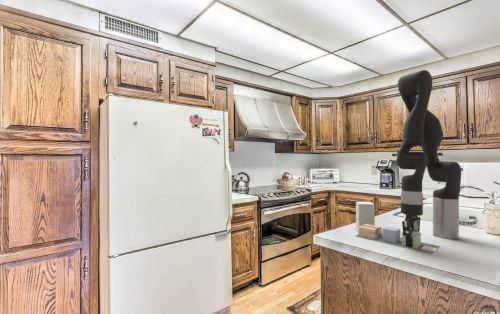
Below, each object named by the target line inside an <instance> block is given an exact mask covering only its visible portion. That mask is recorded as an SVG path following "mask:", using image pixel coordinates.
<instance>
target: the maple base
mask: <svg viewBox="0 0 500 314" xmlns="http://www.w3.org/2000/svg"><path fill="white" fill-rule="evenodd" d="M358 234H359V236H363V237H367V238H371V239H376V238H378V237H380V236H381V234H382V226H378V225H375V226H374V225H369V224H364V225H361V226H359V229H358Z"/></svg>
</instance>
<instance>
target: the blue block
mask: <svg viewBox="0 0 500 314" xmlns="http://www.w3.org/2000/svg"><path fill="white" fill-rule="evenodd" d="M382 234H383V241H387V242H392V243H397V242H399V241H400V238H401V228H399V227H393V226H389V225H388V226H385V227H384V228H382Z"/></svg>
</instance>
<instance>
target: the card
mask: <svg viewBox="0 0 500 314" xmlns="http://www.w3.org/2000/svg"><path fill="white" fill-rule="evenodd" d="M422 249H424V250H428V251H433V253H435V252H436V251H437V250H438V249H437V248H433V247H428V246H424V247H422ZM435 250H436V251H435Z"/></svg>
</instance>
